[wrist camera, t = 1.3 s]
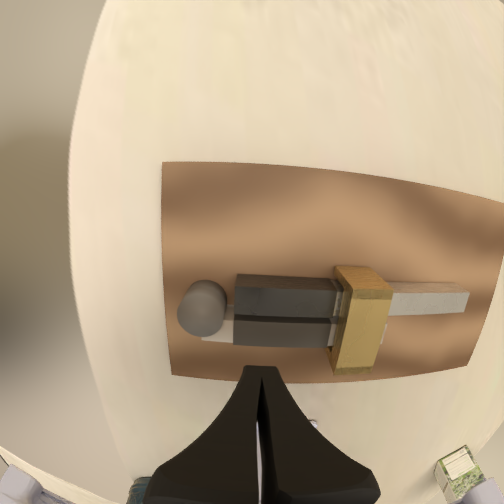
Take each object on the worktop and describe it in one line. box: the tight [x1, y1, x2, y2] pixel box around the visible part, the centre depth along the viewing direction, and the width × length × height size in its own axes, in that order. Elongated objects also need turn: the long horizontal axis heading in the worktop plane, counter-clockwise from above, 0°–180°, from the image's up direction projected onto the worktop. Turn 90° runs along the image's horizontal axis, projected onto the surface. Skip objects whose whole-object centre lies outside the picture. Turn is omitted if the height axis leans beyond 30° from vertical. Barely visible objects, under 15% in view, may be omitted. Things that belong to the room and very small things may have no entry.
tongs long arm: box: [234, 274, 470, 318], centre depth 18 cm, size 2×17×2 cm, turn 87°
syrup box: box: [434, 445, 486, 504], centre depth 21 cm, size 6×6×14 cm
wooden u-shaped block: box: [325, 266, 394, 375], centre depth 17 cm, size 6×2×4 cm, turn 177°
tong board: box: [161, 162, 504, 383], centre depth 18 cm, size 16×28×4 cm, turn 87°
